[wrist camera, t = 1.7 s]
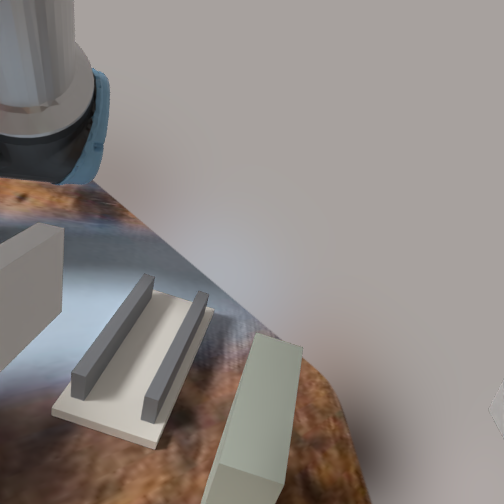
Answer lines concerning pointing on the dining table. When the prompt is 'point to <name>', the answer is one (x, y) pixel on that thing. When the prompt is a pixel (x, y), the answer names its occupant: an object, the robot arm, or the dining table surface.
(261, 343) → the door
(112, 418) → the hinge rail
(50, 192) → the dining table surface
